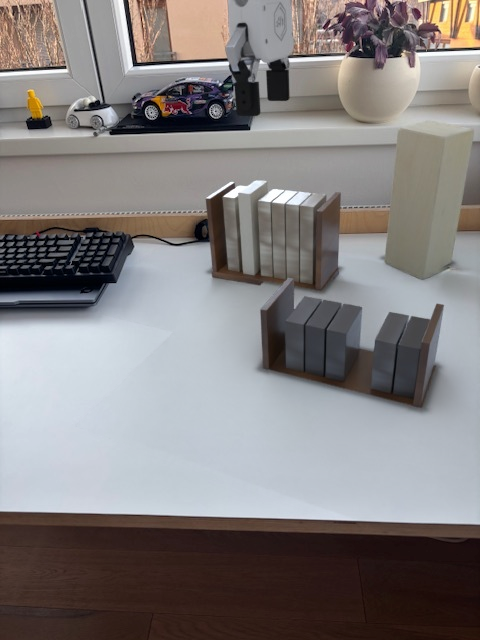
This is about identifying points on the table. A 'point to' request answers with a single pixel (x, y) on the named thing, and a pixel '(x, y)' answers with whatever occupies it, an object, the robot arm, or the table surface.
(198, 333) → the table surface
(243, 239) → the white book
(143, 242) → the table surface
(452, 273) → the table surface
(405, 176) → the tall beige block
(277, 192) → the brown rack
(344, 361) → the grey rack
